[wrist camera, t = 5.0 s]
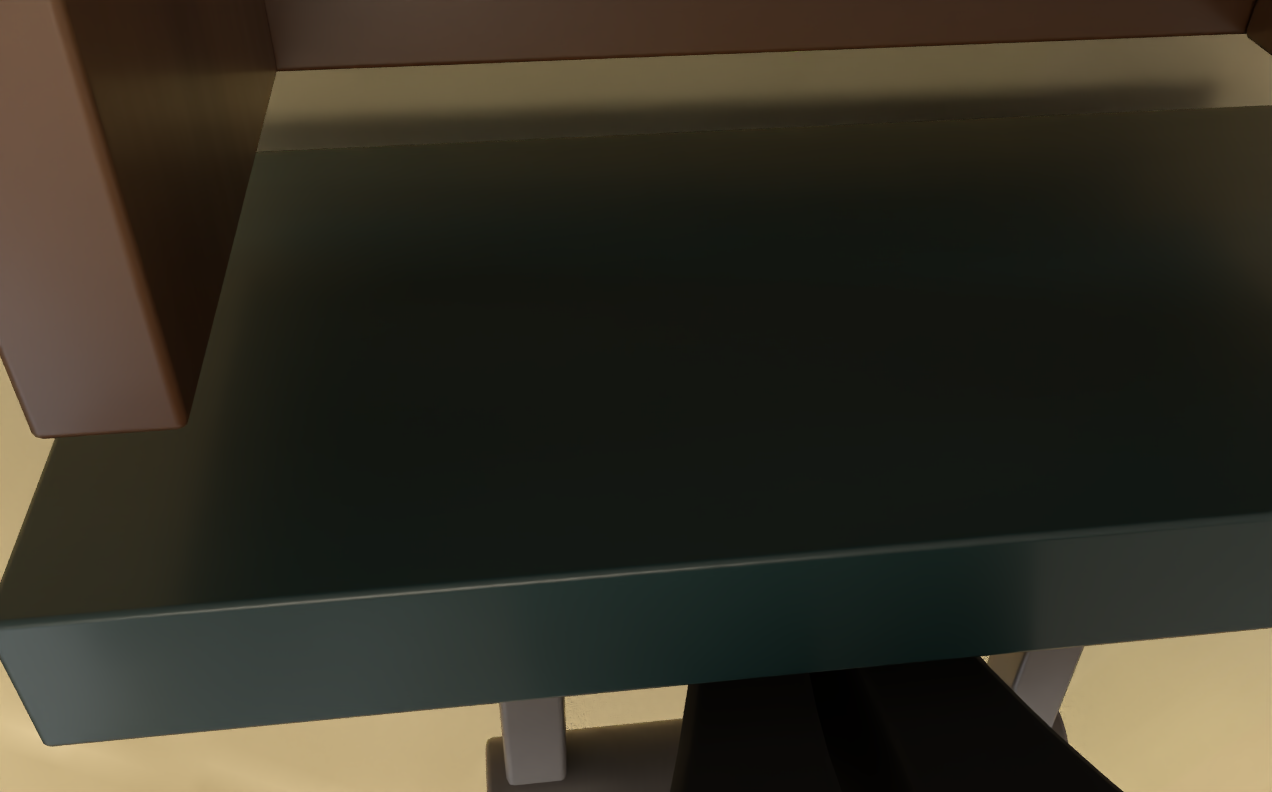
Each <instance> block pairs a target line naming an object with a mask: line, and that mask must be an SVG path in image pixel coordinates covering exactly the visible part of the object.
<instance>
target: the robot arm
mask: <svg viewBox="0 0 1272 792" xmlns="http://www.w3.org/2000/svg"><path fill="white" fill-rule="evenodd" d="M670 792H1123V791H1122V790H1121V789H1120V788H1118V787H1117V786H1116V785H1115V784H1114V783H1112V782H1111V781H1110V780H1109V779H1108V778H1107V777H1106V776H1104V775H1103V774H1102V773H1101V772H1100V771H1099V770H1098V769H1096V768H1095V767H1094V766H1093V765H1092V764H1091V763H1090V762H1089V761H1087V760H1086V759H1085V758H1084V757H1083V756H1082V755H1081V754H1079V753H1078V752H1077V751H1076V750H1075V749H1074V748H1073V747H1072V746H1070V745H1069V744H1068V743H1067V742H1066V741H1065V740H1064V739H1063V738H1062V737H1061V736H1060V735H1059V734H1057V733H1056V732H1055V731H1054V730H1053V729H1052V728H1051V727H1050V726H1049V725H1048V724H1047V723H1046V722H1045V721H1044V720H1043V719H1042V718H1041V717H1040V716H1038V715H1037V714H1036V713H1035V712H1034V711H1033V710H1032V709H1031V708H1030V707H1029V706H1028V705H1027V704H1026V703H1025V702H1024V701H1023V700H1022V699H1021V698H1020V697H1019V696H1018V695H1017V694H1016V693H1015V692H1014V691H1013V690H1012V689H1011V688H1010V687H1009V686H1008V685H1007V684H1006V683H1005V682H1004V681H1003V680H1002V679H1001V678H1000V677H999V676H998V675H997V674H996V673H995V672H994V671H993V670H992V669H991V668H990V667H989V665H988V664H987V663H986V662H985V661H984V660H983V659H982V658H981V657H980V656H978V657H968V658H958V659H947V660H937V661H927V662H916V663H906V664H896V665H885V666H875V667H865V668H855V669H844V670H834V671H824V672H813V673H803V674H793V675H782V676H772V677H762V678H752V679H741V680H731V681H721V682H710V683H700V684H690V685H688V690H687V696H686V702H685V709H684V715H683V721H682V728H681V734H680V740H679V747H678V753H677V758H676V763H675V768H674V773H673V778H672V783H671V788H670Z"/></svg>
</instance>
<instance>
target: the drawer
mask: <svg viewBox="0 0 1272 792" xmlns="http://www.w3.org/2000/svg"><path fill="white" fill-rule="evenodd" d="M1224 34H1247V37H1248V38H1249V39H1251V40H1252V41H1253V42H1255V43H1256V44H1257V45H1258V46H1260V47H1261V48H1262V49H1264V50H1265V51H1266V52H1268V53H1269V54H1270V55H1272V0H0V356H1V359H2V361H3V364H4V366H5V369H6V371H7V374H8V376H9V378H10V381H11V383H12V386H13V388H14V391H15V393H16V396H17V398H18V400H19V403H20V405H21V408H22V410H23V413H24V415H25V417H26V420H27V422H28V425H29V427H30V430H31V432H32V434H33V435H34V436H35V437H38V438H42V439H47V438H55V440H54V443H53V445H52V448H51V451H50V453H49V456H48V459H47V461H46V464H45V467H44V469H43V472H42V474H41V477H40V480H39V482H38V485H37V488H36V490H35V493H34V495H33V498H32V501H31V503H30V506H29V509H28V511H27V514H26V517H25V519H24V522H23V524H22V527H21V530H20V532H19V535H18V538H17V540H16V543H15V545H14V548H13V551H12V553H11V556H10V559H9V561H8V564H7V567H6V569H5V572H4V574H3V577H2V580H1V582H0V660H1V662H2V664H3V666H4V668H5V670H6V672H7V674H8V676H9V677H10V679H11V681H12V683H13V685H14V687H15V689H16V691H17V693H18V695H19V697H20V699H21V701H22V703H23V705H24V707H25V709H26V710H27V712H28V714H29V716H30V718H31V720H32V722H33V724H34V726H35V728H36V730H37V732H38V734H39V736H40V738H41V740H42V742H43V743H44V744H45V745H47V746H61V745H72V744H82V743H92V742H103V741H113V740H123V739H134V738H144V737H154V736H164V735H175V734H185V733H195V732H206V731H216V730H226V729H237V728H247V727H257V726H267V725H278V724H288V723H298V722H309V721H319V720H329V719H340V718H350V717H360V716H370V715H381V714H391V713H401V712H412V711H422V710H432V709H443V708H453V707H463V706H473V705H484V704H494V703H499V707H500V718H501V728H502V737H493V738H490V739H488V740H487V743H486V779H487V792H670V788H671V783H672V778H673V773H674V768H675V763H676V758H677V753H678V747H679V740H680V734H681V728H682V721H683V719H673V720H663V721H653V722H643V723H633V724H623V725H613V726H603V727H593V728H583V729H573V730H566V722H565V697H566V696H576V695H587V694H597V693H607V692H618V691H628V690H638V689H649V688H659V687H669V686H679V685H690V684H700V683H710V682H721V681H731V680H741V679H752V678H762V677H772V676H782V675H793V674H803V673H813V672H824V671H834V670H844V669H855V668H865V667H875V666H885V665H896V664H906V663H916V662H927V661H937V660H947V659H958V658H968V657H978V656H988V655H990V656H989V659H988V662H987V664H988V665H989V667H990V668H991V669H992V670H993V671H994V672H995V673H996V674H997V675H998V676H999V677H1000V678H1001V679H1002V680H1003V681H1004V682H1005V683H1006V684H1007V685H1008V686H1009V687H1010V688H1011V689H1012V690H1013V691H1014V692H1015V693H1016V694H1017V695H1018V696H1019V697H1020V698H1021V699H1022V700H1023V701H1024V702H1025V703H1026V704H1027V705H1028V706H1029V707H1030V708H1031V709H1032V710H1033V711H1034V712H1035V713H1036V714H1037V715H1038V716H1040V717H1041V718H1042V719H1043V720H1044V721H1045V722H1046V723H1047V724H1048V725H1049V726H1050V727H1051V728H1052V729H1053V730H1054V731H1055V732H1056V733H1057V734H1059V735H1060V736H1061V737H1062V738H1063V739H1064V740H1065V741H1066V742H1067V743H1068V740H1067V735H1066V731H1065V727H1064V724H1063V720H1062V718H1061V715H1060V713H1059V708H1060V706H1061V703H1062V701H1063V698H1064V696H1065V693H1066V691H1067V688H1068V686H1069V683H1070V681H1071V678H1072V676H1073V673H1074V671H1075V668H1076V666H1077V663H1078V661H1079V658H1080V656H1081V653H1082V651H1083V648H1084V646H1091V645H1102V644H1112V643H1122V642H1133V641H1143V640H1153V639H1164V638H1174V637H1184V636H1195V635H1205V634H1215V633H1225V632H1236V631H1246V630H1256V629H1267V628H1272V105H1267V106H1245V107H1223V108H1202V109H1180V110H1158V111H1137V112H1115V113H1093V114H1071V115H1050V116H1028V117H1006V118H985V119H963V120H941V121H919V122H898V123H876V124H854V125H833V126H811V127H789V128H767V129H746V130H724V131H702V132H681V133H659V134H637V135H615V136H594V137H572V138H550V139H529V140H507V141H485V142H463V143H442V144H420V145H398V146H377V147H355V148H333V149H311V150H290V151H268V152H256V151H257V147H258V143H259V139H260V135H261V131H262V127H263V123H264V119H265V115H266V111H267V107H268V103H269V100H270V96H271V92H272V88H273V84H274V80H275V76H276V72H277V71H300V70H326V69H351V68H377V67H403V66H428V65H454V64H480V63H505V62H531V61H557V60H582V59H608V58H634V57H659V56H685V55H711V54H736V53H762V52H788V51H813V50H839V49H865V48H890V47H916V46H942V45H968V44H993V43H1019V42H1044V41H1070V40H1096V39H1121V38H1147V37H1173V36H1199V35H1224Z"/></svg>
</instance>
